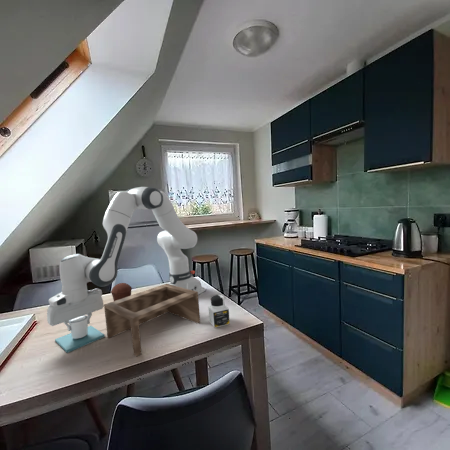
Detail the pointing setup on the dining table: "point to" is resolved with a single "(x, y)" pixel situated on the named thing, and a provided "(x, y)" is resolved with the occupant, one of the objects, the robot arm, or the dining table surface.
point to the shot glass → (79, 327)
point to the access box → (149, 310)
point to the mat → (78, 340)
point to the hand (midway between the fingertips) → (79, 326)
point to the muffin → (121, 291)
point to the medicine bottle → (218, 311)
